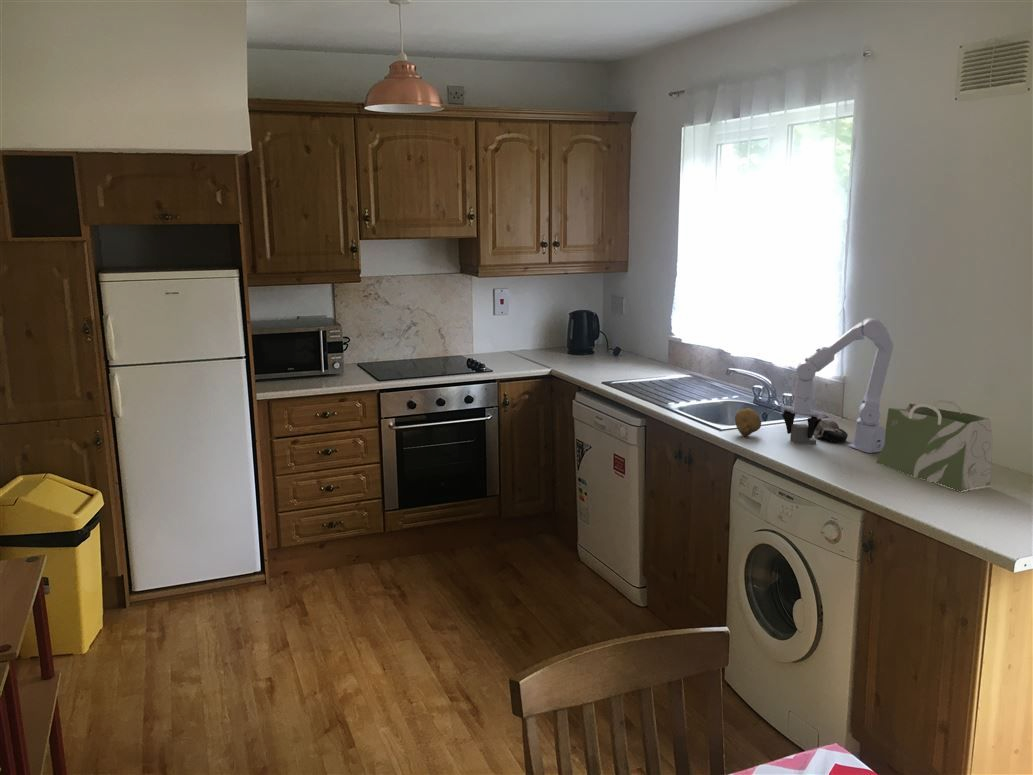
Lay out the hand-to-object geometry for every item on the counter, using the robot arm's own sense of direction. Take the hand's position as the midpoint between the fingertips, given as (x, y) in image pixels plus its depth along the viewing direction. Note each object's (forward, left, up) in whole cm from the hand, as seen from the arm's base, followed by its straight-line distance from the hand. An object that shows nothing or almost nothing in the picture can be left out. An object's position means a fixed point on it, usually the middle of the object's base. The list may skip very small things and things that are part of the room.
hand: (799, 435), depth 299 cm
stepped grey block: (0, -1, -2) cm, 3 cm away
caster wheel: (0, -14, -3) cm, 14 cm away
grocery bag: (-44, -12, -3) cm, 46 cm away
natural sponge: (+13, +12, -3) cm, 18 cm away
